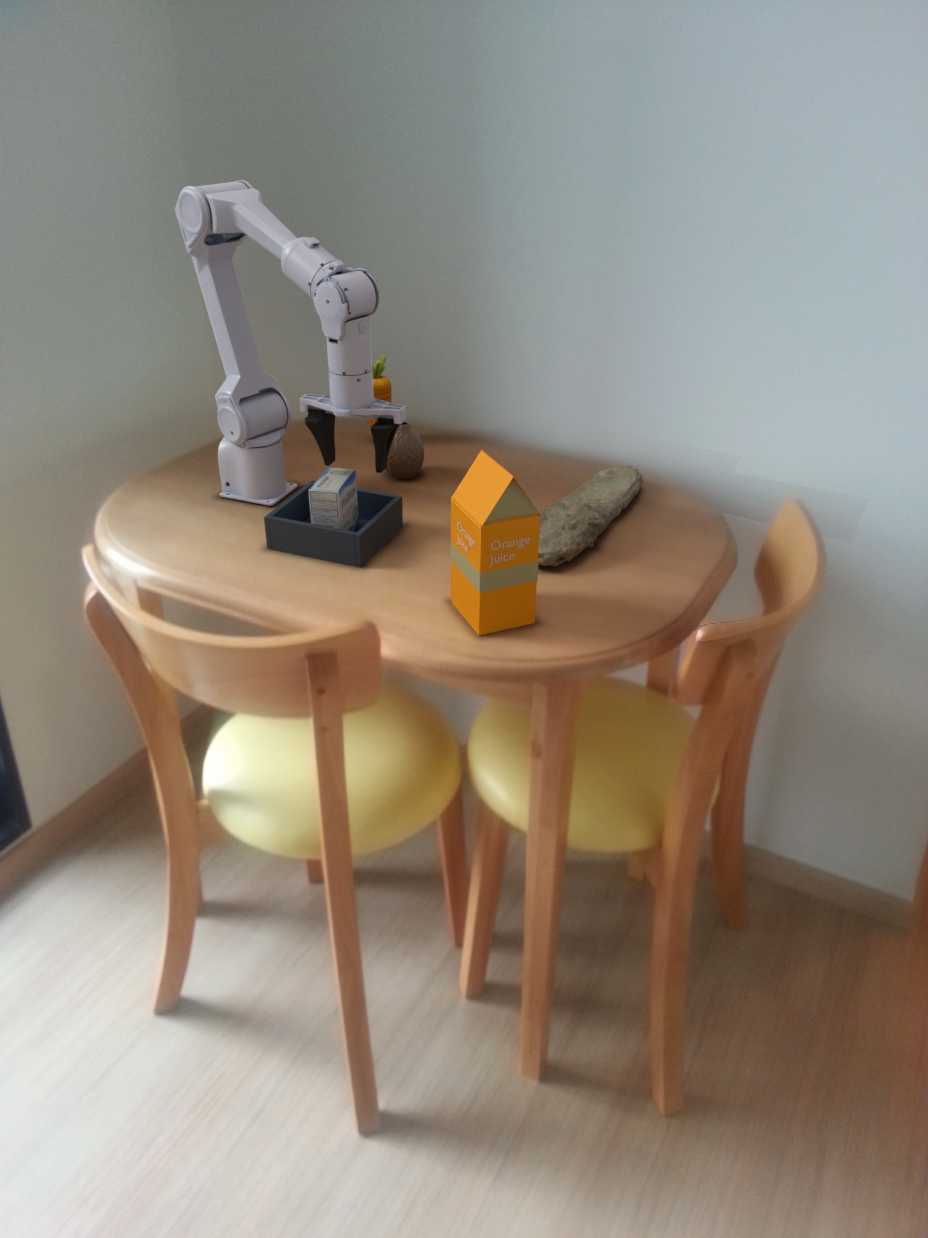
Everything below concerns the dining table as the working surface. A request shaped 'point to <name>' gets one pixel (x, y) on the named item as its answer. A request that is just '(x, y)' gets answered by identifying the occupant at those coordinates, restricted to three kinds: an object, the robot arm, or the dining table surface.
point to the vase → (405, 453)
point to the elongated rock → (585, 513)
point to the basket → (299, 536)
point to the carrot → (380, 384)
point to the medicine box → (335, 499)
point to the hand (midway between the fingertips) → (355, 466)
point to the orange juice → (493, 549)
